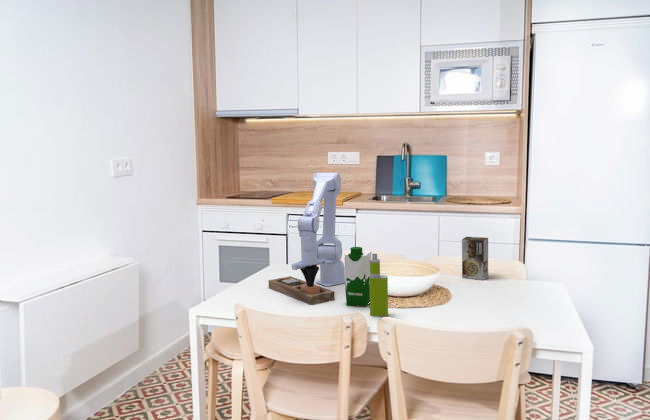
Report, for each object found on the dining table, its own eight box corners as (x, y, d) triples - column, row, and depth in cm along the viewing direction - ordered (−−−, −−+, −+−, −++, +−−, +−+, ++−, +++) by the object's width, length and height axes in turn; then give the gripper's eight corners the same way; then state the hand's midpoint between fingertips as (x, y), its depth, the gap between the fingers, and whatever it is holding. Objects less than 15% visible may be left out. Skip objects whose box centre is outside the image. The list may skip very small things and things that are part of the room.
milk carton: (343, 306, 193) (341, 248, 191) (350, 298, 202) (349, 243, 199) (368, 308, 190) (367, 249, 188) (374, 300, 199) (373, 244, 196)
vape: (370, 312, 185) (369, 252, 183) (388, 313, 184) (387, 252, 182) (369, 316, 182) (368, 255, 179) (387, 316, 181) (386, 255, 178)
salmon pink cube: (312, 292, 208) (312, 283, 208) (320, 295, 204) (319, 286, 204) (301, 294, 205) (300, 285, 205) (308, 297, 201) (308, 288, 201)
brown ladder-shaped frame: (290, 283, 226) (290, 276, 225) (334, 299, 201) (334, 291, 201) (268, 287, 220) (268, 280, 219) (311, 305, 195) (311, 296, 195)
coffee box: (488, 277, 228) (489, 237, 226) (483, 280, 222) (484, 240, 220) (466, 274, 232) (466, 236, 230) (461, 278, 227) (461, 238, 225)
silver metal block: (292, 287, 220) (292, 278, 219) (299, 289, 216) (299, 280, 215) (281, 289, 217) (281, 280, 216) (288, 291, 213) (287, 283, 212)
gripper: (317, 245, 210) (318, 280, 212) (286, 250, 201) (287, 287, 203) (329, 247, 205) (330, 283, 207) (298, 253, 196) (299, 291, 197)
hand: (310, 286), depth 204 cm, fingers closed, pressing on salmon pink cube
